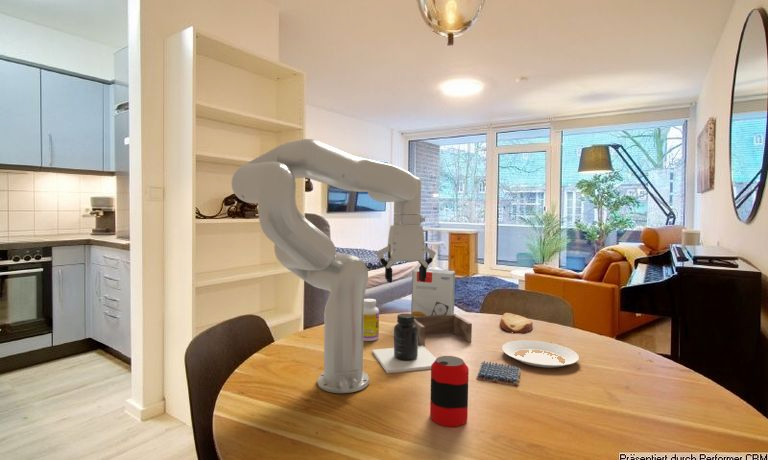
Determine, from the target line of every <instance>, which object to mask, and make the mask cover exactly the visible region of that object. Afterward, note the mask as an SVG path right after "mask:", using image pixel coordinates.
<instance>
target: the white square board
mask: <svg viewBox="0 0 768 460" xmlns="http://www.w3.org/2000/svg"><path fill="white" fill-rule="evenodd" d="M371 351H372V354H373V356H374V357H375V359H376V360H377V361H378V363H379V365H381V366H382V368H383V369H384V372H386V374H393V373H394V374H395V373H403V372H404V373H405V372H413V371H423V370H425V371H426V370H431V365H432V364H433V363H434V361H435V360H436V359H437V358H438V357H436V356H435V355H434V354H433V353H431V352H430V351H429V350H428V349H427V348H426V347H425V346H421V345H418V356H417V358H416V359H414V360H411V361H402V360H398V359H396V358H395V357H394V347H390V348H388V347H387V348H377V349H376V348H375V349H372V350H371Z"/></svg>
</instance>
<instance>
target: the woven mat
mask: <svg viewBox="0 0 768 460" xmlns="http://www.w3.org/2000/svg"><path fill="white" fill-rule="evenodd" d="M480 364H481V365H480V368H479V371H478V373H477V376H476V377H475V378H476V379H477V380H480V381H486V382H494V383H499V384H505V385H510V386H519V385H520V378H521V373H522V372H521V368H520V366H517V367H516V365H510V364H504V363H501V364H500V363H498V362H495V363H494V362H491V361H490V362H488V361H485V360H484V361H483V362H481V363H480Z"/></svg>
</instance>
